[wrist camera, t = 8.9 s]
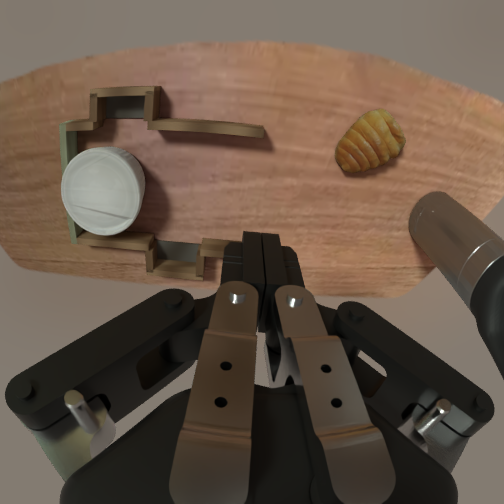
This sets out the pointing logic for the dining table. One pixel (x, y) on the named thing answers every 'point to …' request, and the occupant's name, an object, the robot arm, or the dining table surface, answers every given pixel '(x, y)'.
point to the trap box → (147, 106)
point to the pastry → (370, 142)
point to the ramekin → (103, 190)
